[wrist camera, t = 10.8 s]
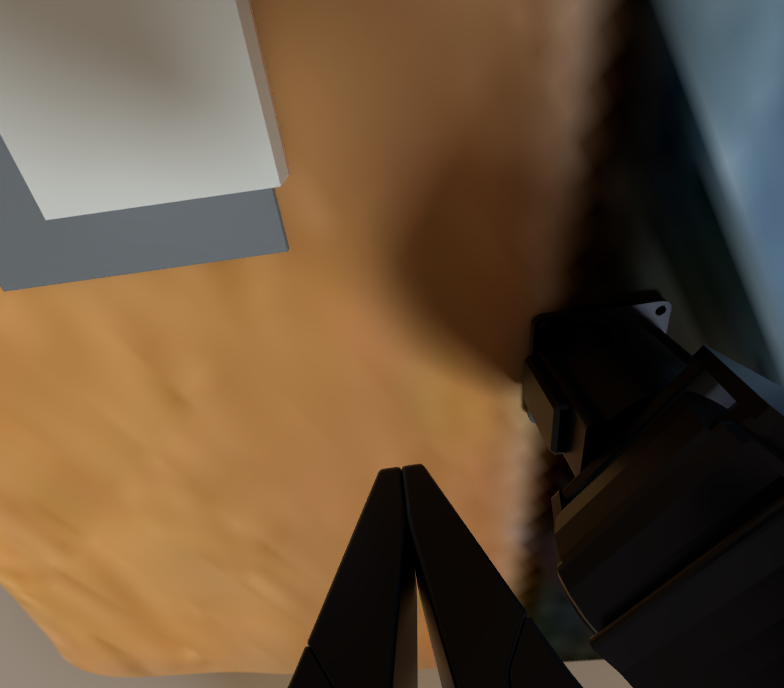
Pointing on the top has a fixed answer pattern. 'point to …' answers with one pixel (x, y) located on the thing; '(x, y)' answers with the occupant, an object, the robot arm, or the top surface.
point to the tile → (136, 102)
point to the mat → (128, 234)
